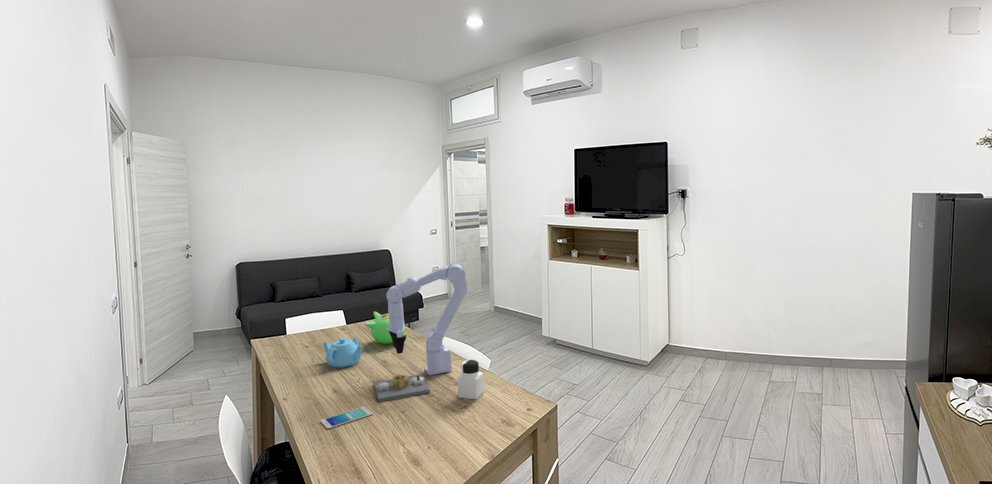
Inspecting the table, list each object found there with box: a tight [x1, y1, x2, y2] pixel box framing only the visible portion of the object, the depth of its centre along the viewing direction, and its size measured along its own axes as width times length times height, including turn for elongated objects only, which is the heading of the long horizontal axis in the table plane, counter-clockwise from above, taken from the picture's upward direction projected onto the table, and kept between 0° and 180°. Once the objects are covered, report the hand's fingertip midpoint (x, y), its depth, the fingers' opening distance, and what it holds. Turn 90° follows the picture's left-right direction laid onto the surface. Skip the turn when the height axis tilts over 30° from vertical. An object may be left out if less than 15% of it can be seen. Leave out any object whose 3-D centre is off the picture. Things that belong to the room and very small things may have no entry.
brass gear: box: [391, 374, 409, 389], centre depth 178 cm, size 6×6×3 cm
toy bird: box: [364, 311, 406, 345], centre depth 234 cm, size 18×17×15 cm
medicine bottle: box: [456, 359, 485, 400], centre depth 171 cm, size 7×7×12 cm
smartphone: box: [320, 406, 373, 430], centre depth 157 cm, size 8×1×15 cm
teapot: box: [322, 337, 364, 369], centre depth 209 cm, size 15×15×11 cm
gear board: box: [373, 373, 431, 403], centre depth 179 cm, size 18×16×4 cm
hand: (398, 350), depth 193 cm, fingers open, 7 cm apart
